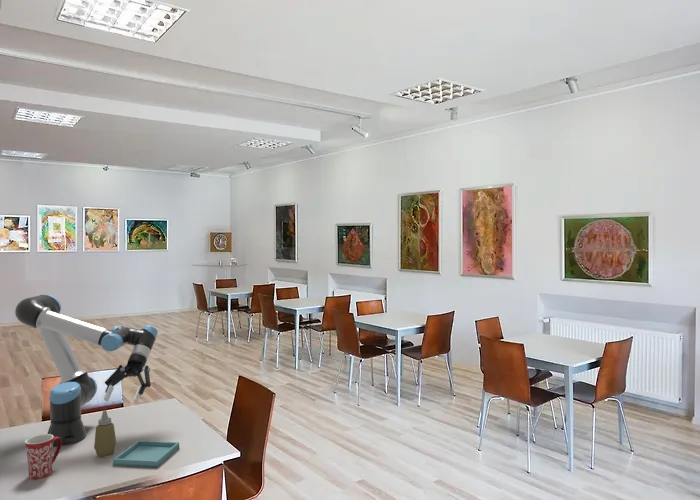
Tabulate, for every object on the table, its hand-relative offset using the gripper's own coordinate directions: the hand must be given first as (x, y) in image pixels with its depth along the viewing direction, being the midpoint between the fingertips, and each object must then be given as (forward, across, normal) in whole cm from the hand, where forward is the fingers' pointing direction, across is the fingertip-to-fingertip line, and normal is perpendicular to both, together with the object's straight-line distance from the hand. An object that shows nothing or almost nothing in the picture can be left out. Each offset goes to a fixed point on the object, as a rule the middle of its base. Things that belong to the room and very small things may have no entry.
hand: (120, 400), depth 213 cm
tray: (+21, -18, -5) cm, 28 cm away
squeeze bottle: (+21, 0, -6) cm, 22 cm away
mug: (+33, +13, +6) cm, 36 cm away
